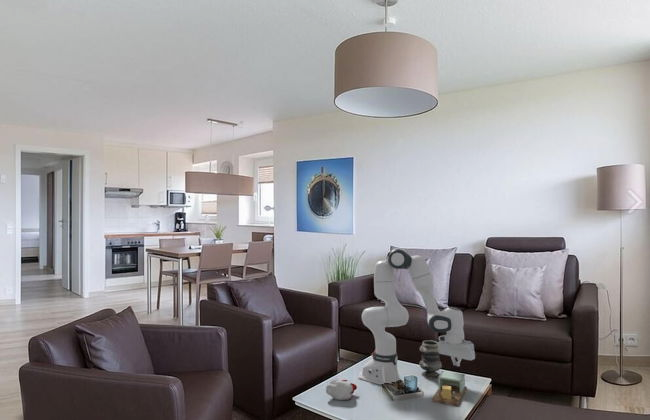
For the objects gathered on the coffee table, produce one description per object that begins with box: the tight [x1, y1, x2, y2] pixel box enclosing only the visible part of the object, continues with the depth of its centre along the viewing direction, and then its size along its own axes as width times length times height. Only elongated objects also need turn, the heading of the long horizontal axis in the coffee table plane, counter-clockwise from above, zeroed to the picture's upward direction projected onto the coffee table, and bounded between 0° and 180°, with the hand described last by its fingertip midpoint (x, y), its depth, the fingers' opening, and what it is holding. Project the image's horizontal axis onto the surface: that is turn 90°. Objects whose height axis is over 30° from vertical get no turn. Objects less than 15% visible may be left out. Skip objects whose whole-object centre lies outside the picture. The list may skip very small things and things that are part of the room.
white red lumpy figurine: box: [325, 378, 358, 401], centre depth 205 cm, size 9×11×15 cm
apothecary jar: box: [419, 339, 443, 379], centre depth 233 cm, size 12×12×18 cm
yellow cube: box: [442, 386, 451, 399], centre depth 201 cm, size 4×4×4 cm
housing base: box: [431, 384, 467, 407], centre depth 206 cm, size 12×22×4 cm, turn 151°
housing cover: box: [437, 370, 466, 393], centre depth 210 cm, size 11×9×6 cm
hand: (456, 365), depth 219 cm, fingers closed
